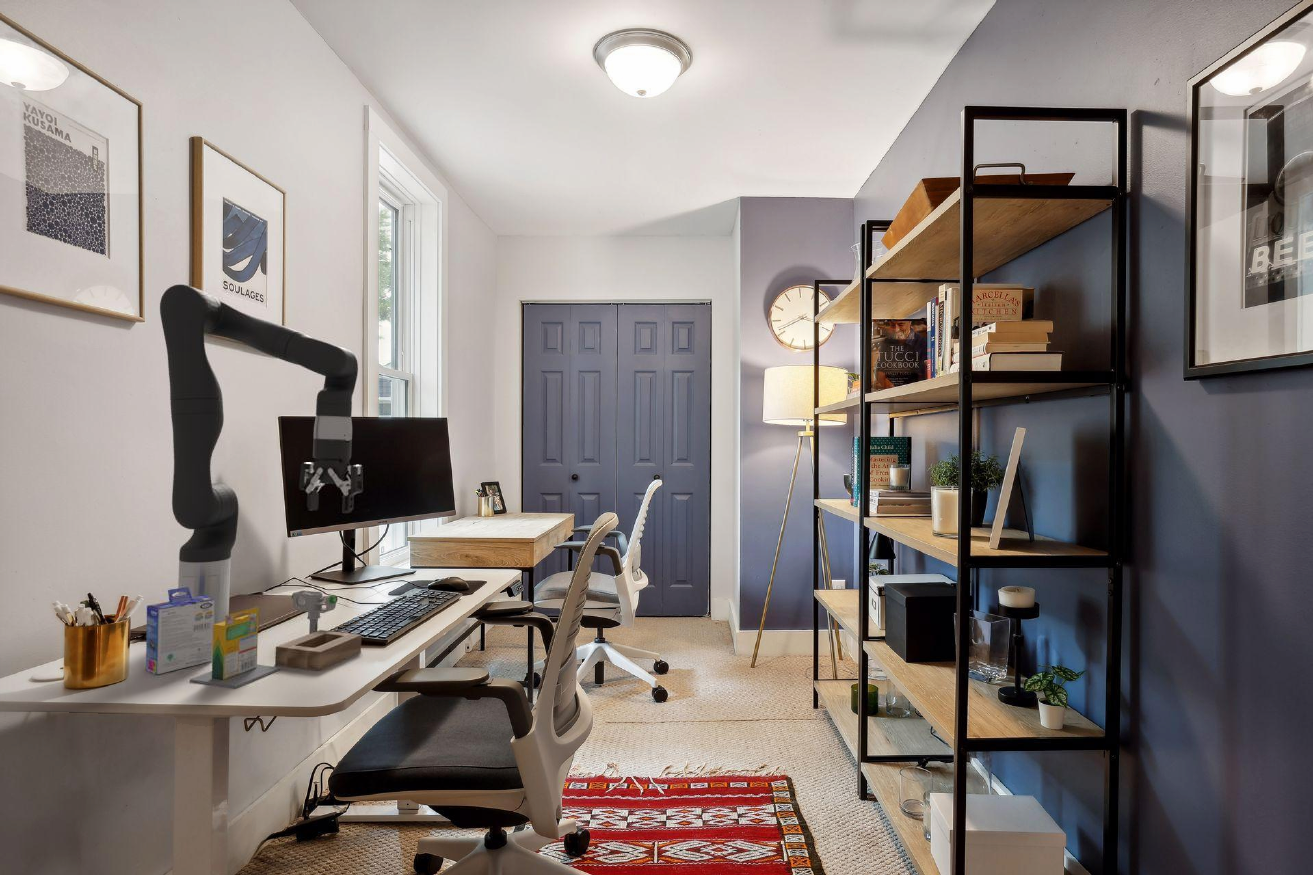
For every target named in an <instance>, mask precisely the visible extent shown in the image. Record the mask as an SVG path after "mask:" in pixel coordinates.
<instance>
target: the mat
mask: <svg viewBox="0 0 1313 875" xmlns="http://www.w3.org/2000/svg"><path fill="white" fill-rule="evenodd" d="M280 670H281V667H278V666H271V665H265V664H257V668H253V669H251V670H248V671H245V672H243V673H240V674H237V675H235V676H232V677H230V678H227V679H226V680H220V679H213V678H212V670H211V671H209V672H206V673H202V674H200V675H197V676H195V677H192V678H189V682H190V683H198V684H203V685H204V684H205V685H211V686H217V687H218V686H219V687H223V688H224V687H225V688H233V689H238V688H241V687H242V686H243V687H244V686H245V685H247V684H249V683H252V682H255V681H257V680H260V679H261V678H264V677H266V676H269V675H271V674H274V673H276V672H277V671H280Z"/></svg>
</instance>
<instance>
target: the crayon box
mask: <svg viewBox="0 0 1313 875" xmlns="http://www.w3.org/2000/svg"><path fill="white" fill-rule="evenodd" d="M259 610H260V609H259V606H255V607H252V608H248V609H245V610H241V611H239V612H234V613H231V614H228V615H227V616H225V622H221V623H218V624H214V625H213V654H212V661H211V671H212V678H213V679H220V680H226V679H227V678H230V677H232V676H235V675H237V674H240V673H243V672H245V671H248V670H251V669H253V668H257V665H258V644H259V643H258V635H259ZM242 614H244V615H242ZM241 615H242V616H241Z"/></svg>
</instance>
